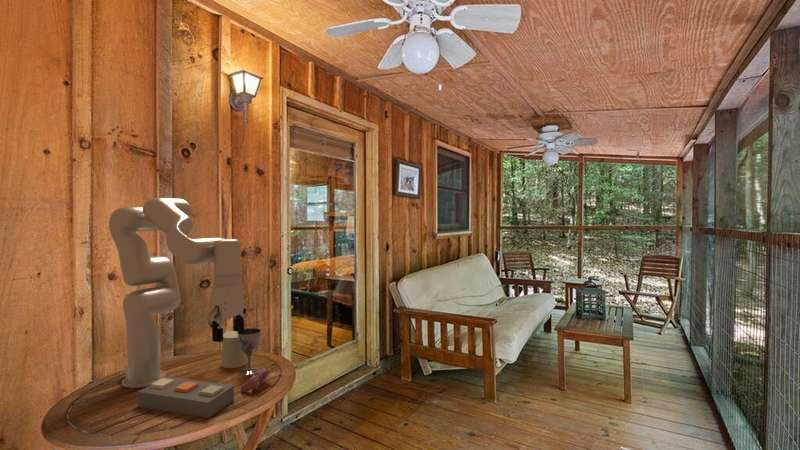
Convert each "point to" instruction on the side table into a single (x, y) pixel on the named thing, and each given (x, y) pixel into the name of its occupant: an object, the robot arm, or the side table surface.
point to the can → (232, 351)
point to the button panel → (186, 398)
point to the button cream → (162, 383)
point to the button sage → (211, 391)
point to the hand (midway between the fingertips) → (228, 336)
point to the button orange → (186, 387)
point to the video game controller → (255, 380)
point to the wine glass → (249, 347)
